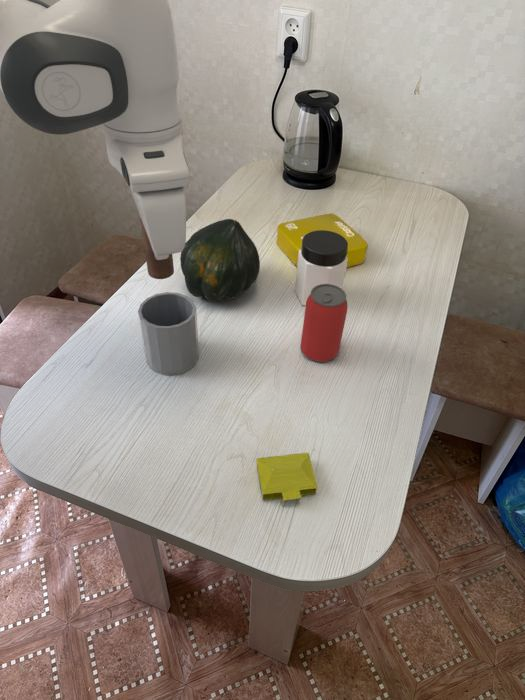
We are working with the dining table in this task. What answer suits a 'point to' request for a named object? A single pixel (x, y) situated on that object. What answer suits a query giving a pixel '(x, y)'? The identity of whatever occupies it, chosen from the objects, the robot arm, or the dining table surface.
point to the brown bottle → (154, 266)
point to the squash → (220, 261)
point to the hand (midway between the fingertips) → (157, 247)
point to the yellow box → (296, 230)
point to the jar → (320, 262)
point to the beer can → (324, 322)
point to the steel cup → (169, 332)
